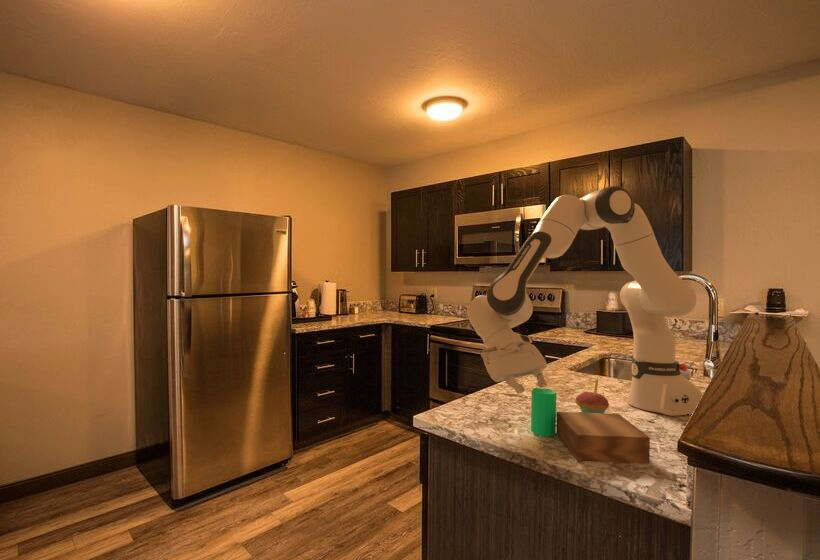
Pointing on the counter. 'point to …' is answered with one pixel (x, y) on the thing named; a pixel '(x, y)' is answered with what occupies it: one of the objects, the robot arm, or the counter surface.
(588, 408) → the cupcake
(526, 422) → the counter surface
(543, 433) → the candle
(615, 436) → the walnut block
